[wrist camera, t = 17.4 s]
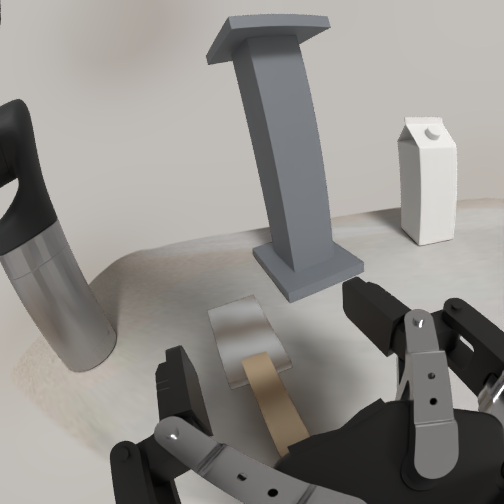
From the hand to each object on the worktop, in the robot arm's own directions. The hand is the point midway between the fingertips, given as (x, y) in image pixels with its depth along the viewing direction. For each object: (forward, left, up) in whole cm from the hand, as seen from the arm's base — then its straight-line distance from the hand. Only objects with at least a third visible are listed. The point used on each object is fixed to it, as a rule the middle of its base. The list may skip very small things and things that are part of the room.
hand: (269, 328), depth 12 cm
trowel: (-4, +7, -12) cm, 15 cm away
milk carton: (+20, +31, -12) cm, 39 cm away
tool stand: (-1, +25, -12) cm, 28 cm away
